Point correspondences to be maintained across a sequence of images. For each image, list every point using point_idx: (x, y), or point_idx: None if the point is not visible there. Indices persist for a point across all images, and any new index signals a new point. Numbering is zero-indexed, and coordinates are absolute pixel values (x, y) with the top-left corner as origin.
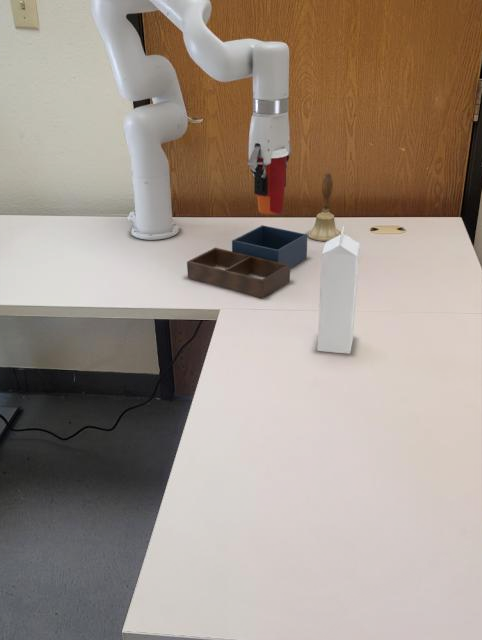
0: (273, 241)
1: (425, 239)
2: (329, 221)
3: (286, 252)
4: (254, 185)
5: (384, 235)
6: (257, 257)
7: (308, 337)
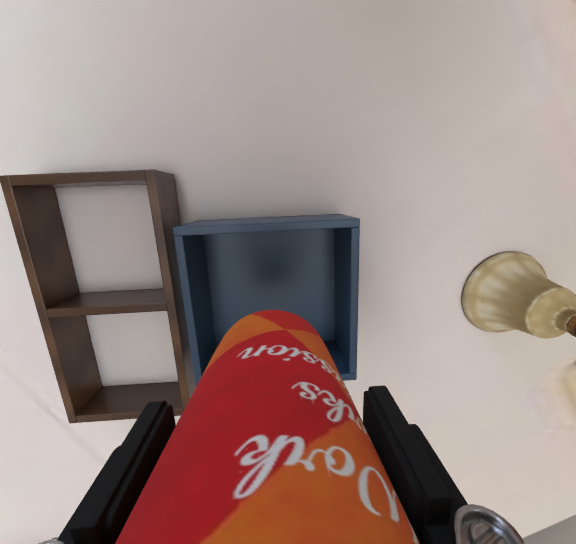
0: (340, 260)
1: (562, 466)
2: (526, 331)
3: None
4: (122, 444)
5: (557, 397)
6: (177, 326)
7: (38, 525)
